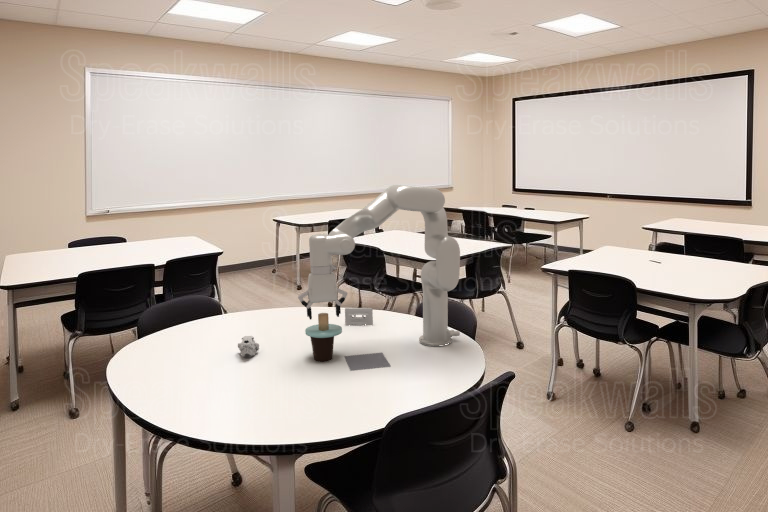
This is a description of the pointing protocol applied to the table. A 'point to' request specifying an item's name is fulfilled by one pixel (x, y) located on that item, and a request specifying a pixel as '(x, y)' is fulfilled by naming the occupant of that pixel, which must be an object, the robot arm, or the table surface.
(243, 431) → the table surface
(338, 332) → the lid
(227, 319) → the table surface
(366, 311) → the cassette
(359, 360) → the mat
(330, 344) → the coffee mug
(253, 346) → the skull
